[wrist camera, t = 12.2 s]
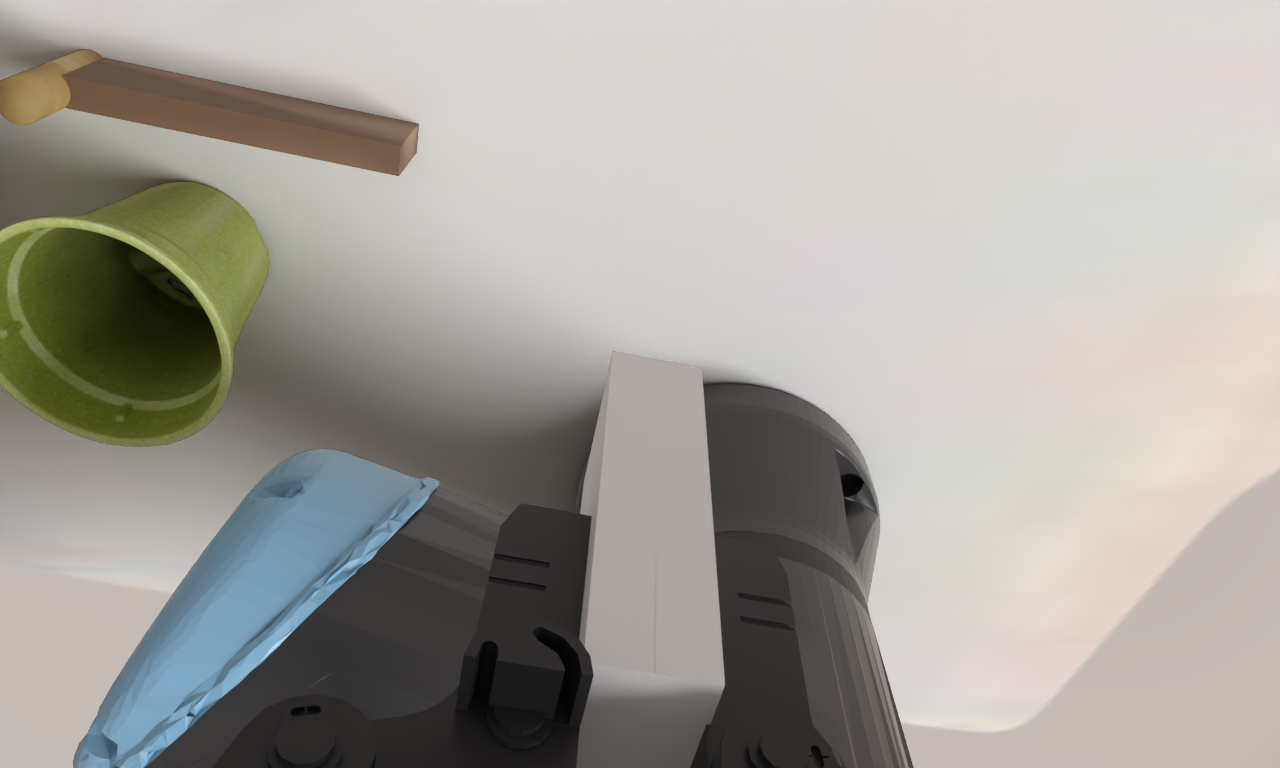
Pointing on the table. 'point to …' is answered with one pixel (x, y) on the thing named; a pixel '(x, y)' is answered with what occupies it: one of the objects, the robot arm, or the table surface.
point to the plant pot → (129, 312)
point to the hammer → (208, 111)
